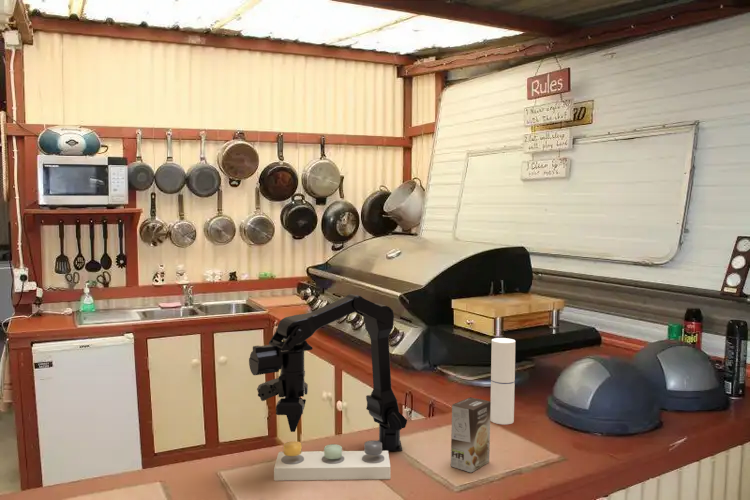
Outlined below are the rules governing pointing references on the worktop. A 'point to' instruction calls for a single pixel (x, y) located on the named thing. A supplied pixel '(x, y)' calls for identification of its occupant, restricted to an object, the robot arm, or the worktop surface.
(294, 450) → the button amber
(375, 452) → the button charcoal
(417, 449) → the worktop surface
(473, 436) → the coffee box
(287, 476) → the button panel
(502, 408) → the cylindrical container
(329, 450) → the button sage
